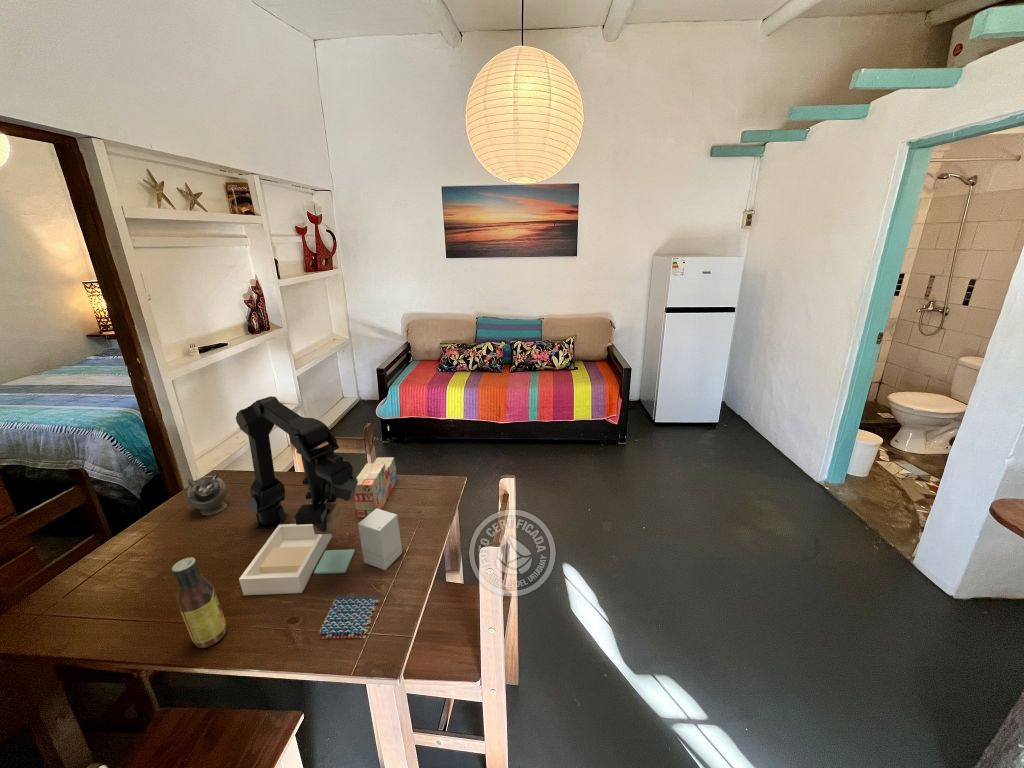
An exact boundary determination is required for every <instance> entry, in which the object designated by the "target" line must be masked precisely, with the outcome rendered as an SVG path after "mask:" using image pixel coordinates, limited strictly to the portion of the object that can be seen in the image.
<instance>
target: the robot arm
mask: <svg viewBox="0 0 1024 768" xmlns="http://www.w3.org/2000/svg"><path fill="white" fill-rule="evenodd" d="M235 422H236V423H237V425H238V427H239V429H240V430H241V431H242V432H243V433H244V434H245V435H247V437H248V443H249V448H250V454H251V461H252V467H253V472H254V480H253V482H252V484H251V486H250V489H249V490H250V497H249V498H248V500H247V501H246V505H247V508H248V509H249V511H251V512H252V513H254V514H255V518H256V521H257V524H256V525H255V526H254V527H255V530H257V529H258V530H259V529H262V530H263V529H276V528H277V527H278V525H281V524H282V522H283V521H284V519H285V518H286V516H287V513H286V512H285V510H284V506H283V505H282V504H281V503H282V502H283V501H285V500H286V489H285V485H284V484H283V482H282V481H281V480H279V479H278V478H277V477H276V475H275V467H274V461H273V453H272V447H271V439H270V434H271V432H272V430H273V428H274V426H277V427H278V428H279V429H280V430H282V431H283V432H285V433H286V434H288V435H289V438H290V444H291V445H292V446H293V447H294V449H295V450H296V453H297V454H299V455H300V457H301V463H302V467H303V472H304V478H303V480H302V485H306V487H307V491H308V492H307V493H306V494H305V500H311V501H310V503H308V504H305V503H304V504H302V505H301V506H300V507H299V508H298V510H297V511H296V513H294V516H293V519H294V524H296V525H305V524H314V525H315V526H316V527H317V528H318V529H319V530H320V531H321V532H325V531H326V517H327V515H328V513H329V512H330V510H331V509H327V508H326V504H325V502H337V499H341V500H343V501H344V502H345V501H346V502H347V501H351V500H352V498H353V494H354V493H355V489H356V486H357V483H358V481H357V479H356V478H357V475H356V473H355V471H353V470H354V469H353V467H354V466H353V465H352V464H351V462H349V461H347V460H346V459H344V457H343V455H340V454H336V453H335V451H336V450H339V449H340V446H339V444H338V443H337V442H338V439H337V438H336V437H335V435H334V434H333V433H332V431H331V430H330V428H329V427H328V425H327V424H326V423H324V422H323V421H322V420H319V419H316V418H314V417H303V416H301V415H299V414H298V413H297V412H295V411H294V410H292V409H291V408H289V407H288V406H286V405H285V404H284V403H282V402H280V401H279V399H278V398H277V397H276V396H272V395H271V396H267V397H264V398H260V399H258V400H255V402H253V403H252V404H251V405H249V406H247V407H246V408H242V409H239V411H237V413H236V416H235ZM322 445H323V446H322Z"/></svg>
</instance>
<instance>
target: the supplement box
mask: <svg viewBox="0 0 1024 768" xmlns="http://www.w3.org/2000/svg"><path fill="white" fill-rule="evenodd" d="M399 526H400V525H399V518H398V514H397V513H393V512H389V511H387V510H383V509H381V510H380V509H377V508H376V509H375V510H374V511H373V512H371V513H370V514H369V515H368V516H367V517H365V518H362V520H360V521H359V522H358V523H357V527H358V532H359V533H358V535H359V539H360V544H361V551H362V556H363V562H364V564H367V565H370V566H372V567H375V568H378V569H380V570H384V571H386V570H387V569H388V568H389V567H390V566H391V565H392V564H393V563H394V562H396V560H397V559H398V558H399V557H400V556H401V554H402V553H403V550H402V549H403V548H402V540H401V532H400V527H399Z"/></svg>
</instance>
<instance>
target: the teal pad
mask: <svg viewBox="0 0 1024 768" xmlns="http://www.w3.org/2000/svg"><path fill="white" fill-rule="evenodd" d="M355 552H356V549H353V548H352V549H329V550H328V549H327V550H326V549H325V551H324V553H323V555H322V556H321V558H320V560H319V562H318V564H317V566H316V568H315V570H314V572H313V575H325V574H328V575H329V574H345V573H347V570H348V568H349V565H350V563H351V561H352V558H354V557H353V556H354V555H355Z"/></svg>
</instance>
